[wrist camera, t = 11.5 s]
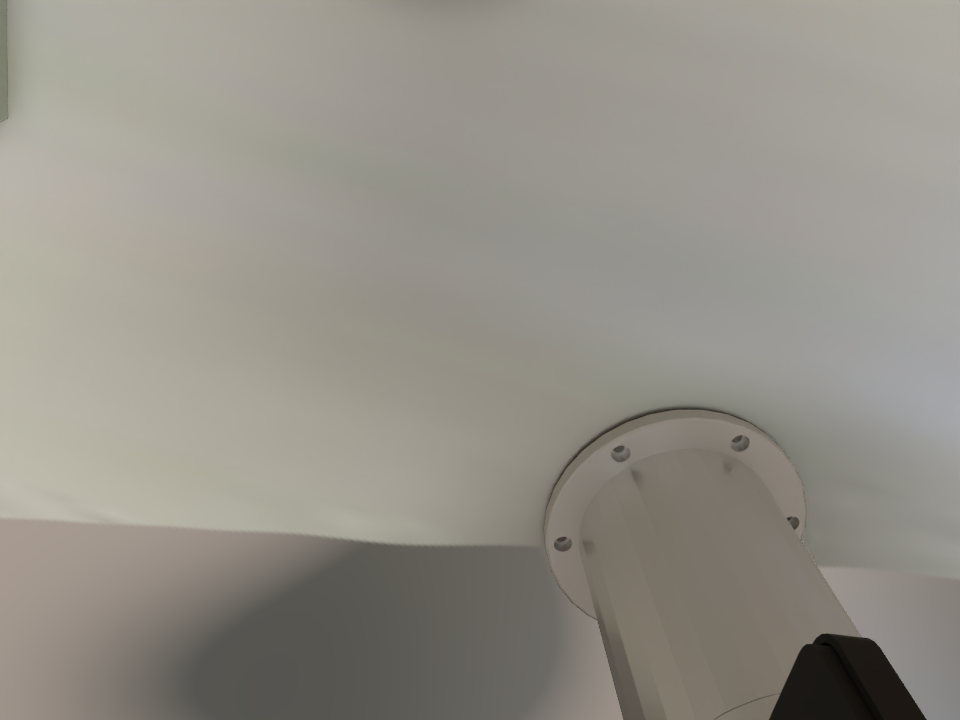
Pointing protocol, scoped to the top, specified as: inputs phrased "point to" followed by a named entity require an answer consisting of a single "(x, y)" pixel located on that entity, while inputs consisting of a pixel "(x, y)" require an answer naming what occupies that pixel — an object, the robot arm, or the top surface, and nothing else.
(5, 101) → the sage block
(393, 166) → the top surface
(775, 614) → the robot arm
